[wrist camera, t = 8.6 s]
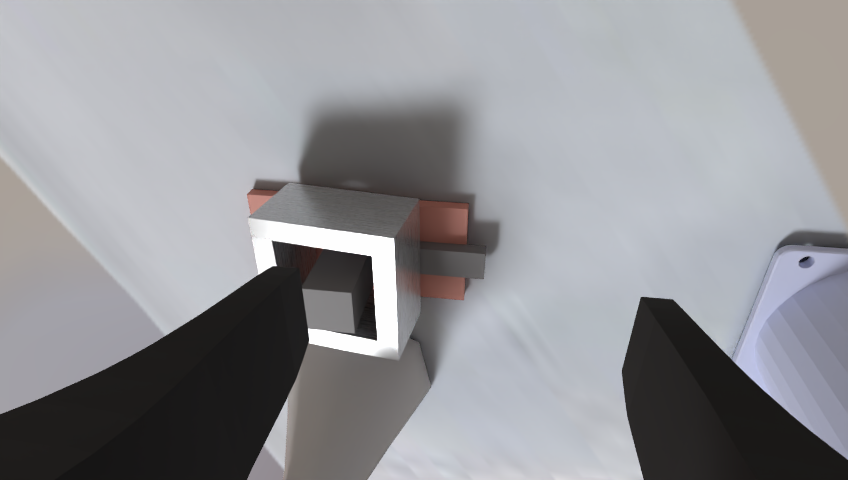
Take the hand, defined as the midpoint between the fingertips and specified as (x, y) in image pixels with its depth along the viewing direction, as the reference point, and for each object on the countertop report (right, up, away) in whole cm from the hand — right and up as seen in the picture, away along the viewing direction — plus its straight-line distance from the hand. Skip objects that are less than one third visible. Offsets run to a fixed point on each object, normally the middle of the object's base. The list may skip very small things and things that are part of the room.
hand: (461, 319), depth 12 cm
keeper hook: (-4, +2, +11) cm, 12 cm away
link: (-4, +1, +11) cm, 11 cm away
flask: (-4, -5, +16) cm, 17 cm away
